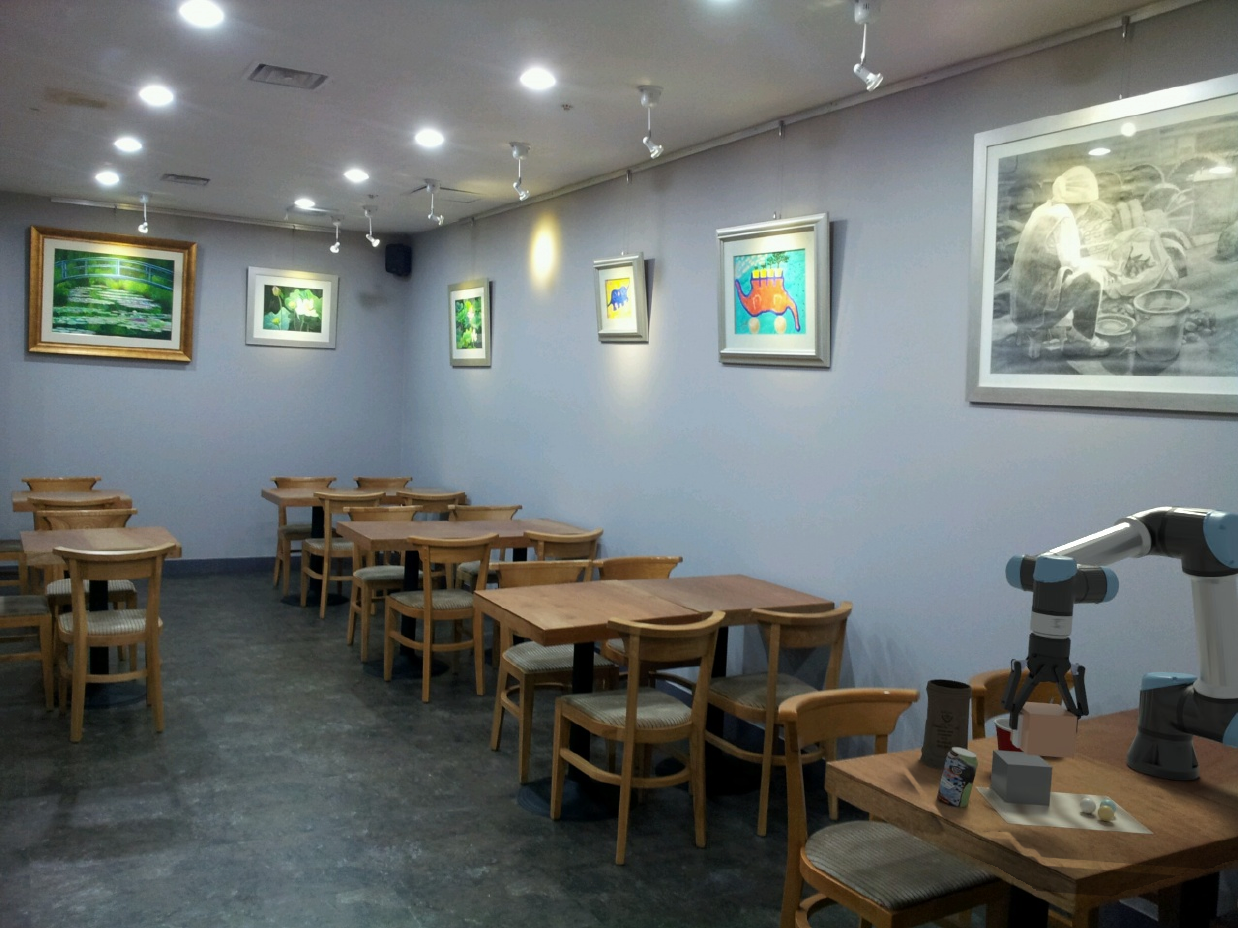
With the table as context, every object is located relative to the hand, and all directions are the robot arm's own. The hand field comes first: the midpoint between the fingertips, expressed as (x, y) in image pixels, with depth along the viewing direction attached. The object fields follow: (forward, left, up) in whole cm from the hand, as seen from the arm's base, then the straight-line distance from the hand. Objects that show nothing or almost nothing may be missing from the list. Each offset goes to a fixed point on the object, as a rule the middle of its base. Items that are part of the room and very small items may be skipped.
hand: (1041, 747), depth 197 cm
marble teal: (-16, -5, -14) cm, 22 cm away
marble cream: (-12, -5, -14) cm, 19 cm away
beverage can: (+14, -6, -16) cm, 22 cm away
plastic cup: (-6, -28, -16) cm, 33 cm away
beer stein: (+9, -33, -16) cm, 38 cm away
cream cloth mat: (-7, -6, -15) cm, 18 cm away
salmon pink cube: (0, 0, 0) cm, 0 cm away
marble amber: (-14, -1, -14) cm, 20 cm away
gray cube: (-1, -12, -14) cm, 19 cm away
